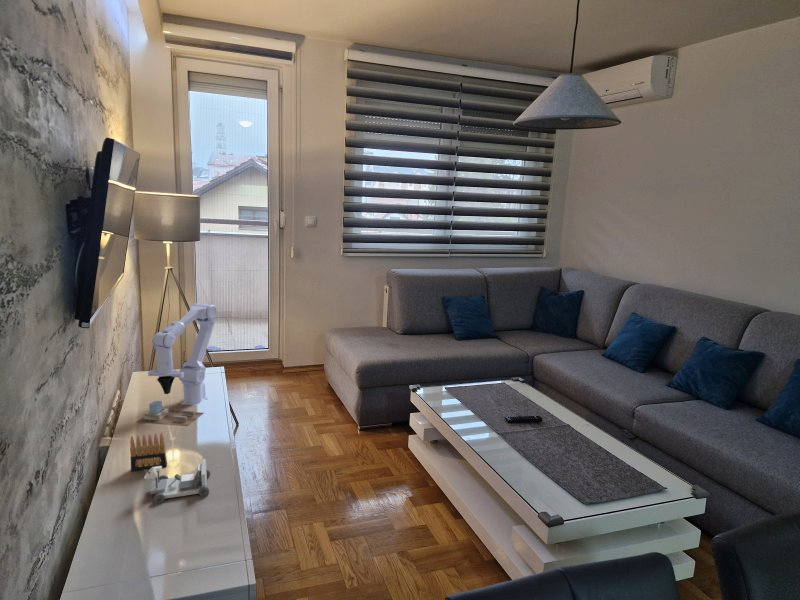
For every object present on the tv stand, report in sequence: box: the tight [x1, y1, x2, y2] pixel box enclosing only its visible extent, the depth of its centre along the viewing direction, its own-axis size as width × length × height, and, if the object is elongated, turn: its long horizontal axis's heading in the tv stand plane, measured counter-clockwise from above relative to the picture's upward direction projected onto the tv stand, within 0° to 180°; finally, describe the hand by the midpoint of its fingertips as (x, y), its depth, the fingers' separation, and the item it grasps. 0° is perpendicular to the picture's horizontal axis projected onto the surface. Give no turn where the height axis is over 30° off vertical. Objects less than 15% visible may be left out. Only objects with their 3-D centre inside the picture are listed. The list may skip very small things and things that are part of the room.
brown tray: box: [135, 407, 205, 427], centre depth 209 cm, size 13×22×3 cm, turn 83°
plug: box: [148, 400, 163, 414], centre depth 209 cm, size 4×3×6 cm
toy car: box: [143, 458, 211, 504], centre depth 158 cm, size 18×10×12 cm
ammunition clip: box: [129, 432, 168, 472], centre depth 170 cm, size 11×2×12 cm, turn 108°
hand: (167, 393), depth 211 cm, fingers closed
